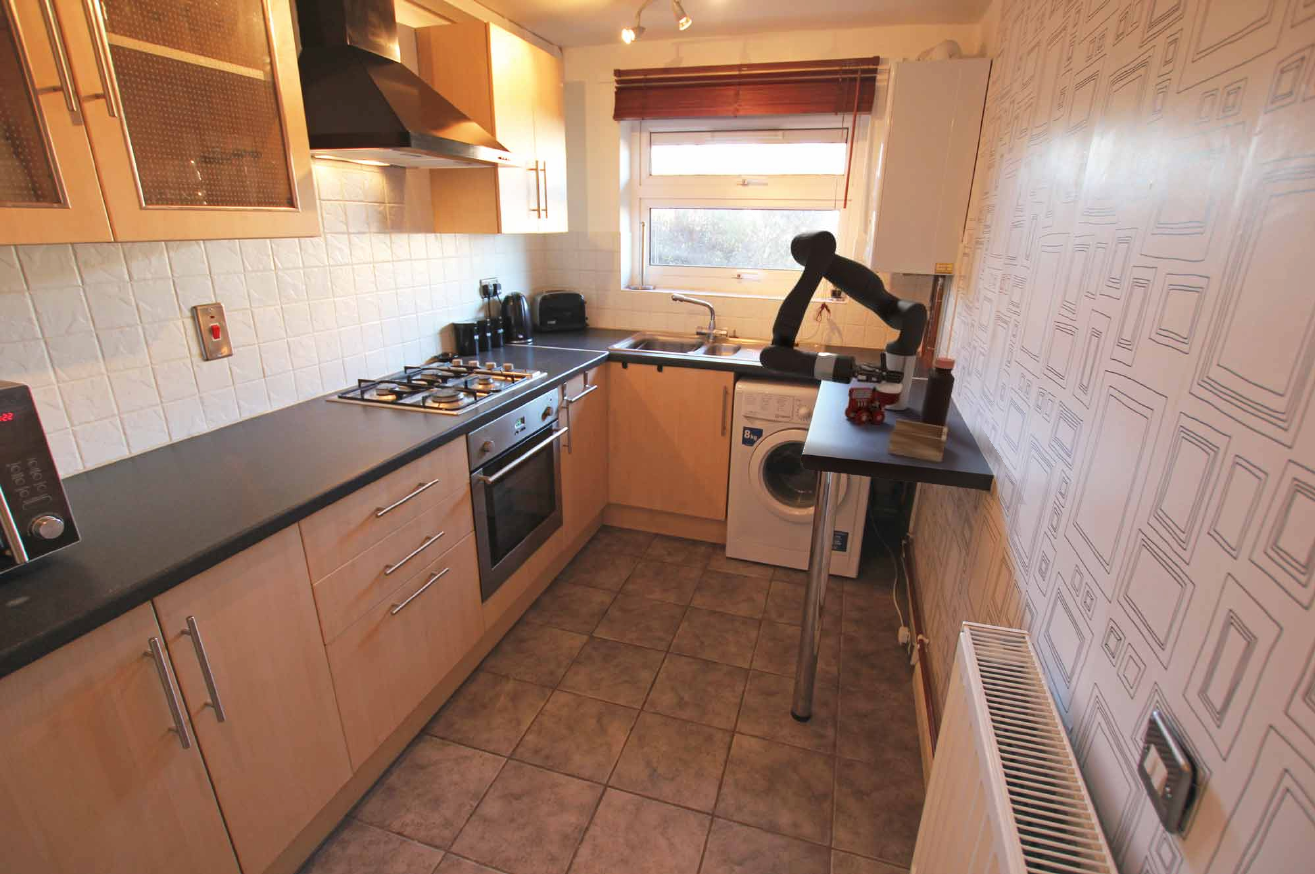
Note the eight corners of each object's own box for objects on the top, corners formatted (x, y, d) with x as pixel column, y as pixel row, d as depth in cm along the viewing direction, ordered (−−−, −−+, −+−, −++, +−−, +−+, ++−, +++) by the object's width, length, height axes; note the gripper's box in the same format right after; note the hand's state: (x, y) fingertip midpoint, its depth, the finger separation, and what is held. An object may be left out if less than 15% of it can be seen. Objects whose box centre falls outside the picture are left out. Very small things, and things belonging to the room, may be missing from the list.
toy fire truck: (889, 424, 177) (895, 389, 174) (852, 425, 174) (857, 390, 170) (875, 417, 183) (881, 383, 180) (839, 418, 180) (844, 384, 177)
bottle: (918, 422, 179) (931, 355, 173) (943, 426, 177) (957, 358, 171) (919, 429, 173) (933, 360, 167) (945, 432, 171) (960, 363, 165)
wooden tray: (893, 437, 165) (897, 418, 163) (943, 446, 160) (948, 426, 158) (887, 452, 153) (891, 431, 152) (941, 462, 148) (945, 441, 146)
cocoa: (901, 410, 154) (913, 365, 149) (876, 407, 155) (886, 362, 150) (892, 397, 163) (903, 354, 158) (868, 395, 163) (878, 352, 158)
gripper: (830, 358, 155) (902, 368, 148) (842, 349, 167) (908, 358, 160) (826, 387, 157) (896, 398, 150) (837, 376, 169) (903, 386, 162)
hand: (902, 377), depth 155 cm, fingers closed on cocoa, 3 cm apart
